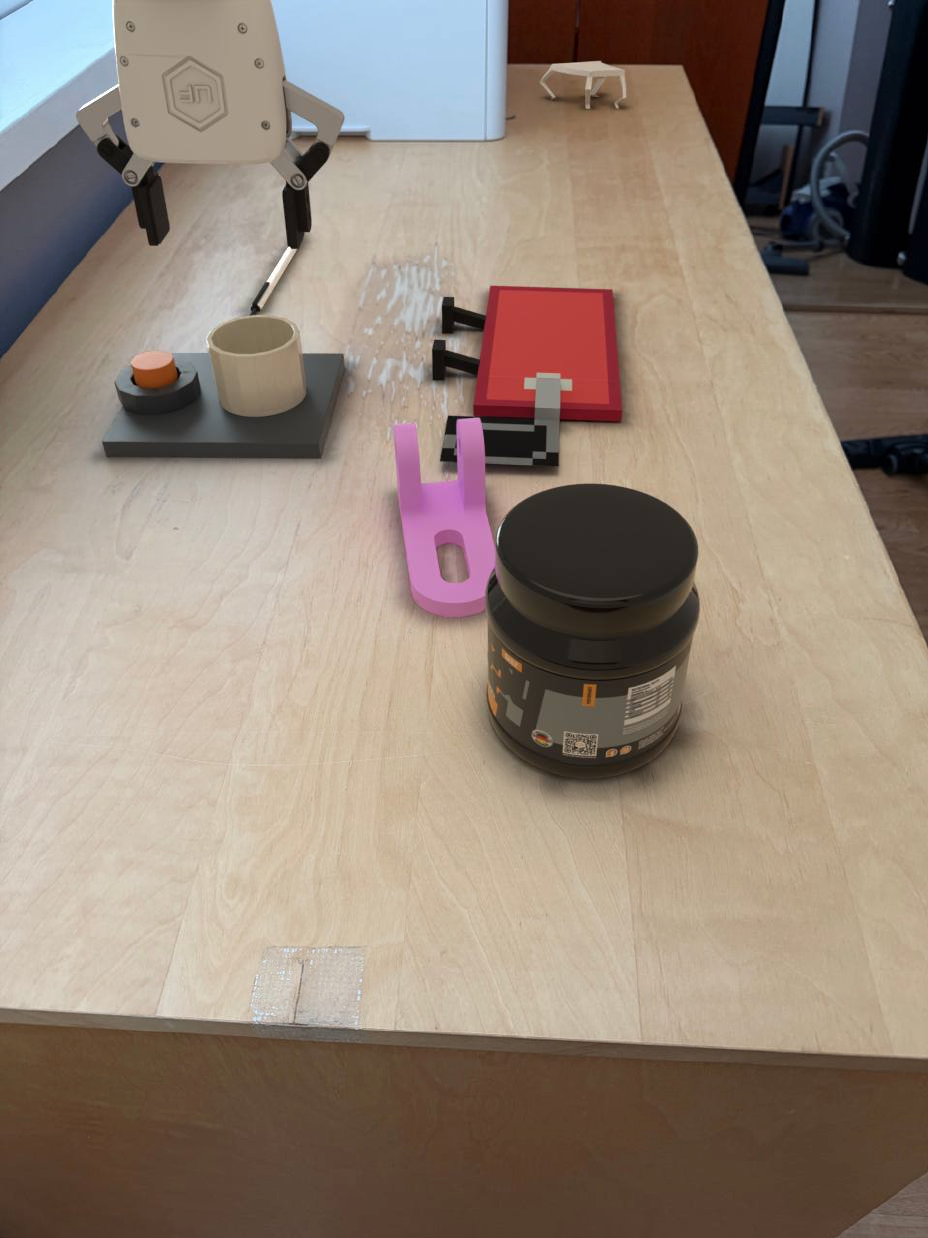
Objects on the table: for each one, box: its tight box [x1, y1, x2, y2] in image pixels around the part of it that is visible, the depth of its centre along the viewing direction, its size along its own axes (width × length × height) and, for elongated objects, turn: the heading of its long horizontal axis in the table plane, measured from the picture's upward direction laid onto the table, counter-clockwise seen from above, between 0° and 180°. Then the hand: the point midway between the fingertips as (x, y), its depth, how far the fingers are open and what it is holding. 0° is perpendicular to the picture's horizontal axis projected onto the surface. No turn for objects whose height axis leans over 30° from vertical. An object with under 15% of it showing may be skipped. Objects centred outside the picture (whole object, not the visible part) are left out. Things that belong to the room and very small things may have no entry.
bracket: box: [392, 418, 495, 618], centre depth 65 cm, size 13×6×7 cm, turn 7°
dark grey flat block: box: [101, 352, 346, 460], centre depth 81 cm, size 16×14×3 cm
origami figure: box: [539, 60, 627, 110], centre depth 142 cm, size 12×8×5 cm
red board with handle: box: [431, 285, 623, 467], centre depth 84 cm, size 30×3×15 cm
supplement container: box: [484, 482, 701, 779], centre depth 53 cm, size 10×10×12 cm
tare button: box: [130, 349, 178, 388], centre depth 80 cm, size 3×3×2 cm
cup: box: [205, 314, 307, 417], centre depth 79 cm, size 7×7×5 cm
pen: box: [249, 246, 298, 316], centre depth 101 cm, size 1×19×1 cm, turn 173°
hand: (228, 240), depth 73 cm, fingers open, 9 cm apart
